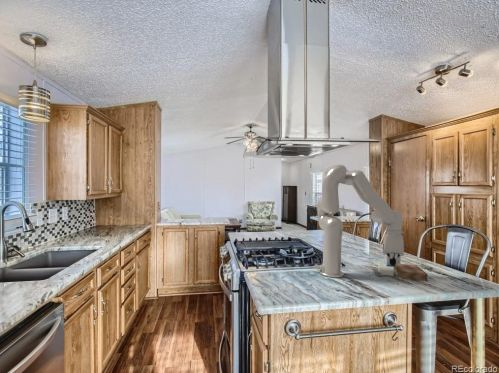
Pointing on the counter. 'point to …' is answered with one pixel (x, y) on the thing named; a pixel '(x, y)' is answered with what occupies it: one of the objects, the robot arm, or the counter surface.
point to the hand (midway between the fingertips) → (392, 265)
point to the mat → (383, 275)
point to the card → (385, 270)
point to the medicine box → (387, 260)
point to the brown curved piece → (410, 272)
